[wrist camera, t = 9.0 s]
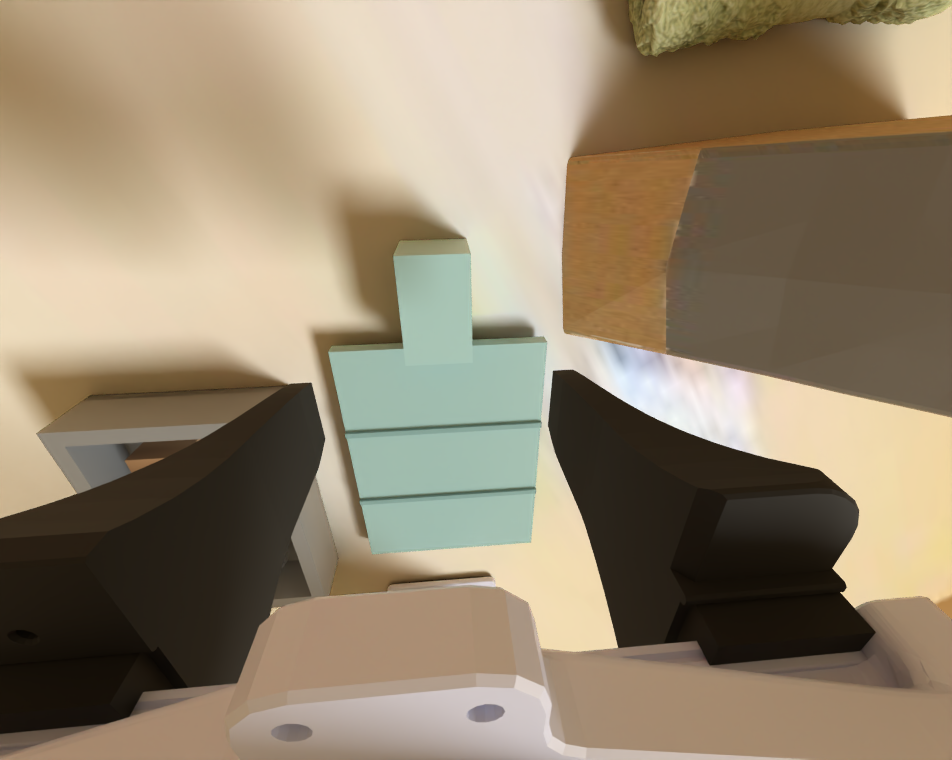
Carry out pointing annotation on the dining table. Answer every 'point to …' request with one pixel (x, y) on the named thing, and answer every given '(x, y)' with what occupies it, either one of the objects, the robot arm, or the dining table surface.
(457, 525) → the mint green stepped piece
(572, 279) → the sandwich container
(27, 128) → the dining table surface
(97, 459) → the tub
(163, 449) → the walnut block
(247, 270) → the dining table surface
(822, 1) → the washcloth
